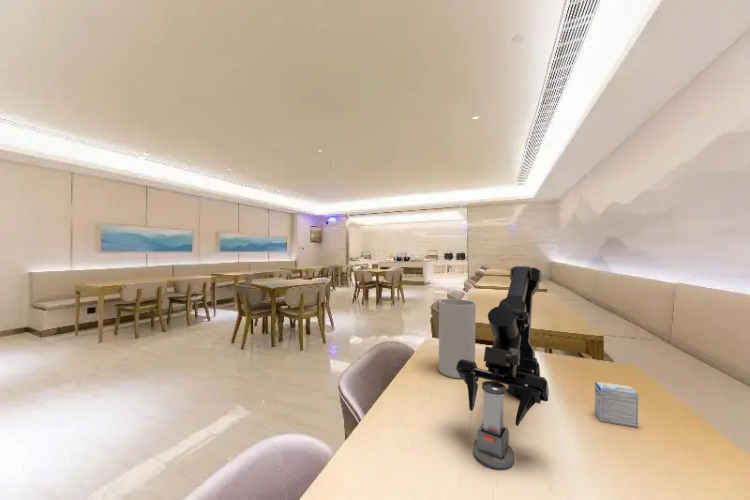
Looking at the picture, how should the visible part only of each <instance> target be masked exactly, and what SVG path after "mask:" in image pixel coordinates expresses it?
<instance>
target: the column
mask: <svg viewBox="0 0 750 500" xmlns="http://www.w3.org/2000/svg"><path fill="white" fill-rule="evenodd" d="M481 388H482V390H483V419H482V421H483V422H482V423H483V432H485V433H488V434H490V435H493V436H496V437H499V438H501V437H502V435H503V427H504V395H505V393H506V392H507V391H506V389H507V387H506V386H505V384H503V383H499V382H495V381H491V380H486V381H485V380H484V381H483V382H482V383H481Z"/></svg>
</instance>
